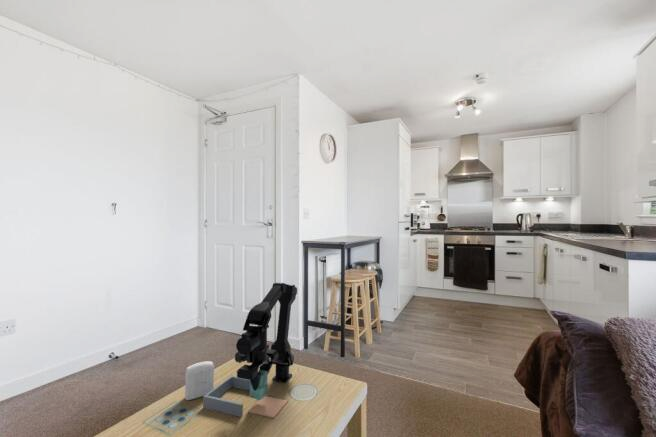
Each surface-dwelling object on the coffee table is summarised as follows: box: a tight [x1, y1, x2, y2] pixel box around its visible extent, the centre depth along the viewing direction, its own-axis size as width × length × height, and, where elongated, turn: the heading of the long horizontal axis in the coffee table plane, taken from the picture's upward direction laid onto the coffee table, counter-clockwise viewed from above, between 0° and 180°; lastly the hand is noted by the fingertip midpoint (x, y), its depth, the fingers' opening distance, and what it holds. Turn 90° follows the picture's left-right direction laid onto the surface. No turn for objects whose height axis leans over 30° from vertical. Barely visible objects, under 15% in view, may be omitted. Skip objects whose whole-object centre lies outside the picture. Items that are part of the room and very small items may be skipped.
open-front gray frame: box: [202, 375, 250, 418], centre depth 113 cm, size 16×16×4 cm
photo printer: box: [184, 360, 215, 401], centre depth 116 cm, size 10×4×12 cm, turn 123°
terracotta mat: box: [248, 395, 288, 419], centre depth 108 cm, size 10×10×1 cm
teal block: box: [249, 369, 269, 401], centre depth 109 cm, size 4×4×8 cm
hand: (258, 386), depth 109 cm, fingers closed on teal block, 4 cm apart
